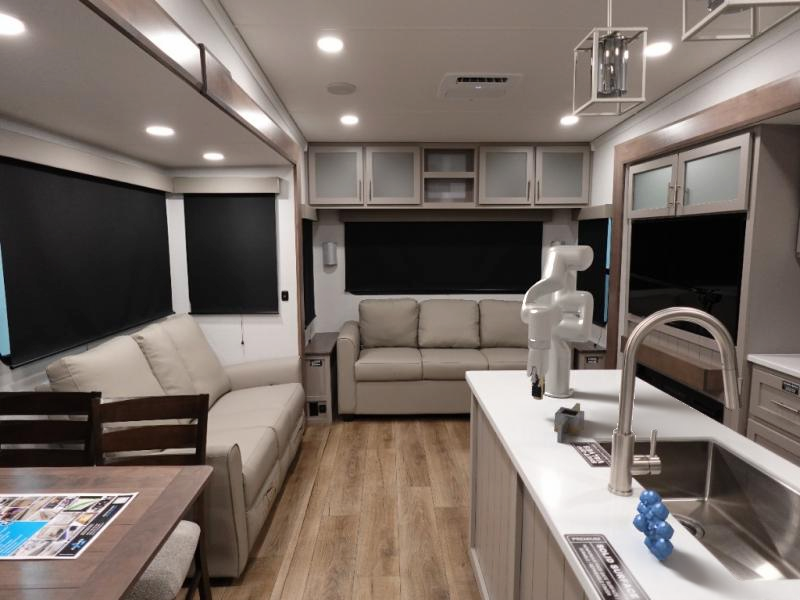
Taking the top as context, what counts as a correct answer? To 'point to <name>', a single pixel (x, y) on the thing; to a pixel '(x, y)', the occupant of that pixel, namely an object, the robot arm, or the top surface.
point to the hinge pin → (541, 390)
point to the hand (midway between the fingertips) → (538, 394)
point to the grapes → (654, 524)
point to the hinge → (568, 422)
